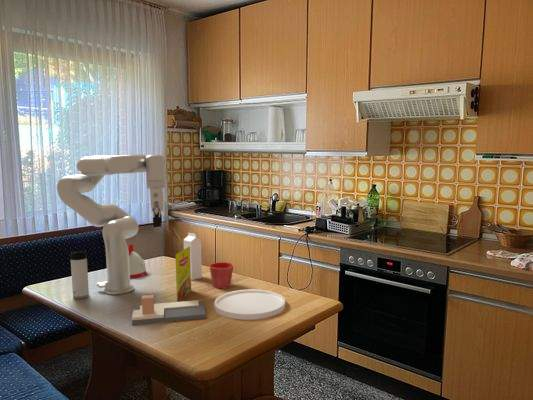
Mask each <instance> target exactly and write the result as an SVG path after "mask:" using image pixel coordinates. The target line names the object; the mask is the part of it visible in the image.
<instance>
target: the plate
mask: <svg viewBox="0 0 533 400" xmlns="http://www.w3.org/2000/svg"><path fill="white" fill-rule="evenodd" d="M213 306H214V310H215V312H216V313H217V314H219V315H220V316H222V317H224V318H229V319H233V320H234V319H235V320H244V321H245V320H246V321H247V320H261V319H262V320H263V319H266V318H267V319H268V318H271V317H274V316H276V314H277V315H278V313H279V314H280V313H282V312H283V311H284V310H285V309H286V299H285V297H284V296H283V295H281V294H280V293H277V292H274V291H270V290H265V289H257V288H256V289H255V288H254V289H250V288H249V289H239V290H233V291H229V292H225V293H224V294H221V295H219V296H218V297H217V298H215V300H214V305H213ZM283 309H284V310H283ZM281 311H282V312H281ZM273 315H274V316H273Z"/></svg>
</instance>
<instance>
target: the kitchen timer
mask: <svg viewBox="0 0 533 400" xmlns="http://www.w3.org/2000/svg"><path fill="white" fill-rule="evenodd" d="M134 248H135V247H134V244H129V245H128V250H129V266H130V279H135V278H140V277H143V276H145V275H146V274H147V269H146V262H145V259H143V258H142V257H141V256H140V254H139V253H137V252H135V251H134Z"/></svg>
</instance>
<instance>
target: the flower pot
mask: <svg viewBox="0 0 533 400" xmlns="http://www.w3.org/2000/svg"><path fill="white" fill-rule="evenodd" d="M208 267H209V272H210V277H211V282H212V286H213V287H214V288H216V289H227V288H229V287H230V286H231V284H232V283H231V281H232V277H233V273H234V272H233V270H234V264H233V263H231V262H223V261H222V262H214V263H211V264H209V266H208Z"/></svg>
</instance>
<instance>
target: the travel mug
mask: <svg viewBox="0 0 533 400" xmlns="http://www.w3.org/2000/svg"><path fill="white" fill-rule="evenodd" d="M69 255H70V256H69V257H70V271H71V285H72V299H74V300H82V299H86V298H88V297H89V296H90V291H89V290H90V289H89V287H90V286H89V273H88V259H87V257H88V256H87V251H86V250H81V251H71V252H70V253H69Z"/></svg>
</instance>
